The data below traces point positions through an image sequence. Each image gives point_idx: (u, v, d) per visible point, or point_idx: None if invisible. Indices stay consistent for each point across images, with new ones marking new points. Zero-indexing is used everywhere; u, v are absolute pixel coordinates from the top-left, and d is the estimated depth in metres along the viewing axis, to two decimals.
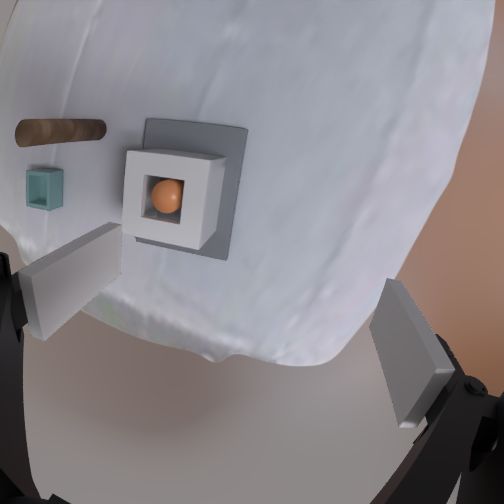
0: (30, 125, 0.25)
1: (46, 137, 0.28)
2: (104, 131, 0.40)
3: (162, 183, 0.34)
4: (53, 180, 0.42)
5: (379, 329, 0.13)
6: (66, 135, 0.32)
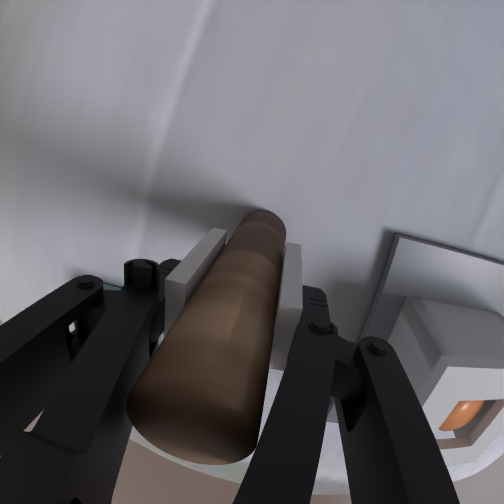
0: (251, 420, 0.06)
1: None
2: None
3: None
4: None
5: None
6: None
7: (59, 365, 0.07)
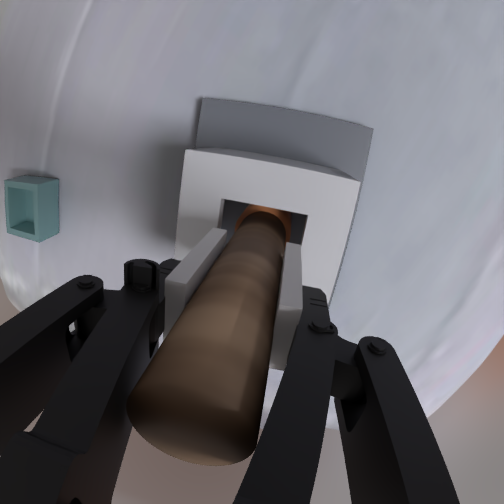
0: (251, 422, 0.06)
1: None
2: None
3: (257, 210, 0.21)
4: (43, 195, 0.26)
5: None
6: None
7: (59, 365, 0.07)
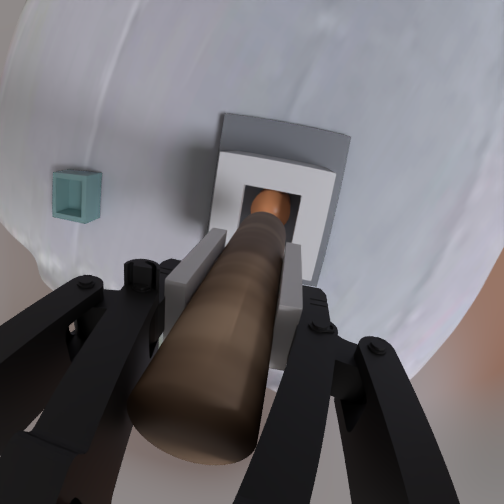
0: (251, 421, 0.06)
1: None
2: None
3: (266, 194, 0.29)
4: (90, 185, 0.35)
5: None
6: None
7: (59, 365, 0.07)
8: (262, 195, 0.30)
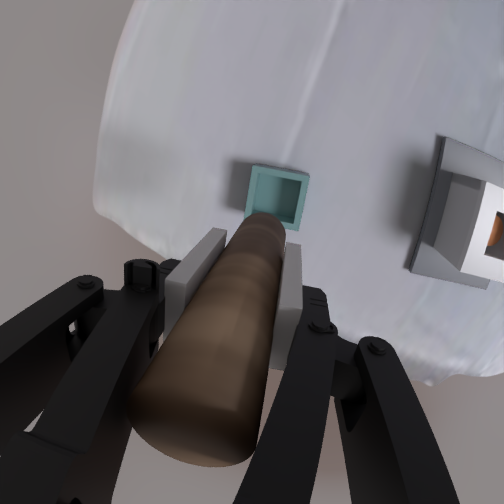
0: (251, 424, 0.06)
1: None
2: None
3: None
4: None
5: None
6: None
7: (59, 365, 0.07)
8: None
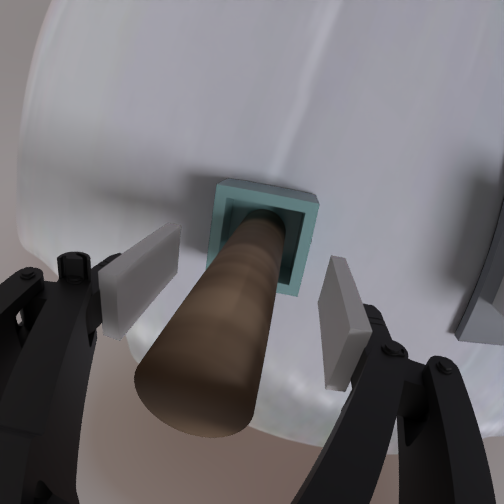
0: (248, 389, 0.07)
1: None
2: None
3: None
4: None
5: (323, 302, 0.15)
6: None
7: (12, 353, 0.07)
8: None
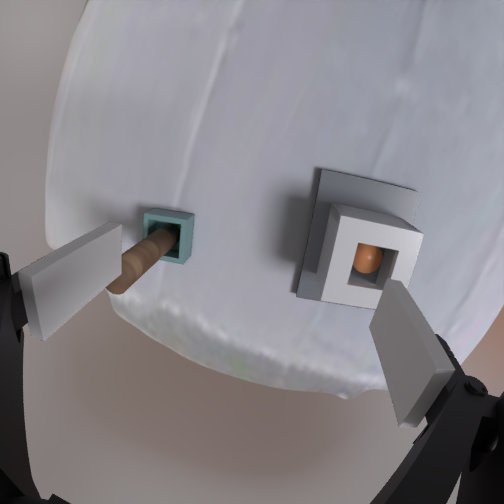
0: (125, 274, 0.28)
1: (139, 276, 0.32)
2: None
3: (365, 245, 0.35)
4: (188, 228, 0.41)
5: (379, 329, 0.13)
6: (153, 263, 0.35)
7: None
8: (362, 246, 0.35)
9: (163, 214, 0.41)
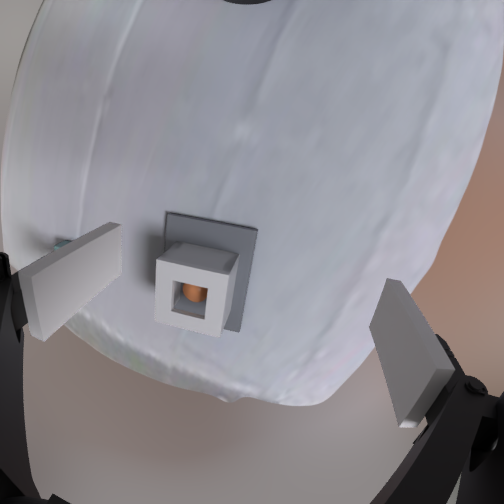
0: None
1: None
2: None
3: None
4: None
5: (379, 329, 0.13)
6: None
7: None
8: None
9: None
